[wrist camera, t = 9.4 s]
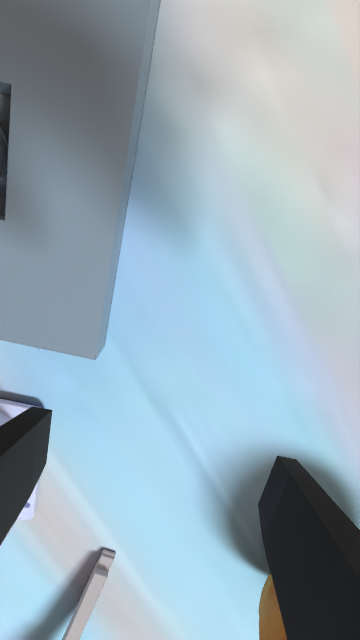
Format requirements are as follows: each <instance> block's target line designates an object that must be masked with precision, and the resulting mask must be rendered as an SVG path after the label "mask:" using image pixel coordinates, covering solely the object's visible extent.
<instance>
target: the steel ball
mask: <svg viewBox="0 0 360 640" xmlns="http://www.w3.org/2000/svg"><path fill="white" fill-rule="evenodd" d="M7 166H8V143H7V140H6V137H5V134H4V132H3V130H2V128H1V127H0V180H1V178H2V177H3V175H4V174H5V172H6V169H7Z"/></svg>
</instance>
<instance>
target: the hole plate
mask: <svg viewBox="0 0 360 640" xmlns="http://www.w3.org/2000/svg"><path fill="white" fill-rule="evenodd" d="M159 7H160V0H0V93H3V94H7V95H11V104H10V125H9V146H8V166H7V187H6V208H5V216H4V215H0V340H3V341H8V342H13V343H18V344H22V345H27V346H32V347H37V348H41V349H46V350H51V351H55V352H60V353H65V354H70V355H74V356H79V357H84V358H89V359H93V360H96V358H97V357H98V355H99V354H100V352H101V351H102V349H103V347H104V346H105V340H106V334H107V328H108V322H109V316H110V309H111V303H112V297H113V291H114V285H115V278H116V272H117V266H118V260H119V254H120V248H121V241H122V235H123V229H124V223H125V217H126V210H127V204H128V198H129V192H130V186H131V180H132V173H133V167H134V161H135V155H136V149H137V143H138V136H139V130H140V124H141V118H142V112H143V105H144V99H145V93H146V87H147V81H148V75H149V68H150V62H151V56H152V50H153V44H154V37H155V31H156V25H157V19H158V13H159Z"/></svg>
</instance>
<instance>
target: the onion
mask: <svg viewBox="0 0 360 640" xmlns="http://www.w3.org/2000/svg"><path fill="white" fill-rule="evenodd" d="M259 639H260V640H287V637H286V633H285V629H284V625H283V620H282V616H281V612H280V608H279V604H278V600H277V596H276V592H275V588H274V584H273V580H272V576H271V572H270V574H269V576H268V578H267V580H266V582H265V584H264V587H263V590H262V593H261V598H260V604H259Z"/></svg>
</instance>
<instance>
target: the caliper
mask: <svg viewBox="0 0 360 640" xmlns="http://www.w3.org/2000/svg"><path fill="white" fill-rule="evenodd" d="M115 554H116V553H115V552H112V551H109V550H106V549H103V551H102V553H101V556H100V558H99V560H98V561H97V563H96V565H95V567H94V569H93V571H92V573H91V575H90V578H89V580H88V582H87V584H86V587H85V589H84V591H83V593H82V596H81V598H80V600H79V603H78V605H77V607H76V609H75V612H74V614H73V616H72V618H71V621H70V623H69V625H68V627H67V630H66V632H65V634H64V636H63V639H62V640H79V639H80V637H81V634H82V632H83V630H84V628H85V626H86V623H87V621H88V619H89V617H90V615H91V612H92V610H93V608H94V606H95V603H96V601H97V599H98V597H99V595H100V592H101V590H102V588H103V586H104V583H105V581H106V579H107V576H108V571H109V569H110V567H111V564H112V562H113V560H114V557H115Z"/></svg>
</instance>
